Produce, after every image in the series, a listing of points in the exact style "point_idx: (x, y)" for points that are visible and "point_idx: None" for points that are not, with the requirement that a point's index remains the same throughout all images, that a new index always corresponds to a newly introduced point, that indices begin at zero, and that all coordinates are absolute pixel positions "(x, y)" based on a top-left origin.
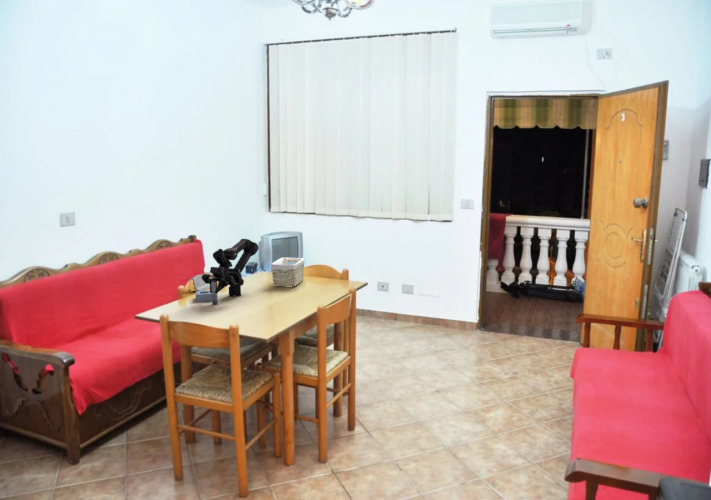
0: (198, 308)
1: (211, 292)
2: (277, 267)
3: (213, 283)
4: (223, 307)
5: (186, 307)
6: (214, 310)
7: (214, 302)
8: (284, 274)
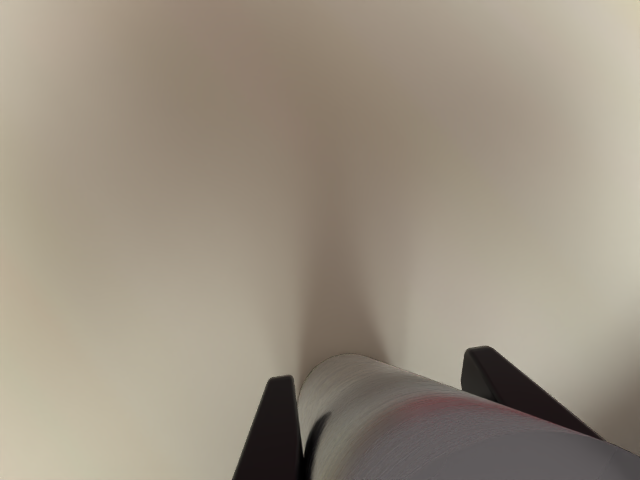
0: (415, 63)
1: None
2: None
3: (425, 443)
4: (59, 297)
5: (628, 31)
6: (87, 76)
7: (327, 365)
8: None
